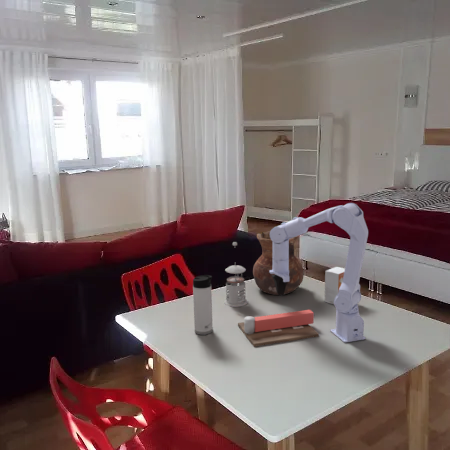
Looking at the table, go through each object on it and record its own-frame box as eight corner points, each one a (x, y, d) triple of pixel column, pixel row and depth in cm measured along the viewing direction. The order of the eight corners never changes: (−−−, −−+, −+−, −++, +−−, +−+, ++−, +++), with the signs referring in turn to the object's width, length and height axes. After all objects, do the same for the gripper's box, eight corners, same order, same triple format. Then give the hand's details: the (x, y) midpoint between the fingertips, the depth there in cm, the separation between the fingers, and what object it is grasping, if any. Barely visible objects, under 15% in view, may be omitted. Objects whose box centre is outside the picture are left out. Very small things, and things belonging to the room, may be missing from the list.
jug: (242, 290, 199) (241, 234, 194) (273, 278, 213) (273, 225, 208) (283, 302, 183) (283, 242, 178) (313, 289, 198) (314, 233, 193)
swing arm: (313, 323, 160) (314, 311, 159) (246, 333, 153) (246, 321, 152) (309, 319, 163) (309, 307, 162) (242, 329, 157) (242, 317, 156)
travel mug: (211, 335, 156) (209, 279, 152) (192, 334, 157) (190, 278, 153) (215, 327, 162) (213, 273, 158) (197, 326, 163) (195, 272, 159)
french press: (220, 305, 182) (219, 244, 177) (229, 295, 193) (227, 237, 188) (244, 307, 179) (243, 245, 174) (251, 297, 190) (251, 238, 185)
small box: (337, 305, 179) (338, 274, 176) (324, 301, 184) (324, 270, 181) (348, 300, 185) (350, 269, 182) (335, 296, 189) (336, 266, 186)
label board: (318, 336, 153) (318, 333, 153) (253, 346, 147) (253, 343, 147) (297, 317, 169) (297, 314, 169) (237, 325, 163) (237, 322, 163)
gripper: (264, 254, 170) (264, 288, 173) (275, 265, 156) (275, 302, 159) (282, 252, 171) (282, 287, 174) (295, 263, 157) (295, 301, 160)
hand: (280, 294), depth 166 cm, fingers closed
